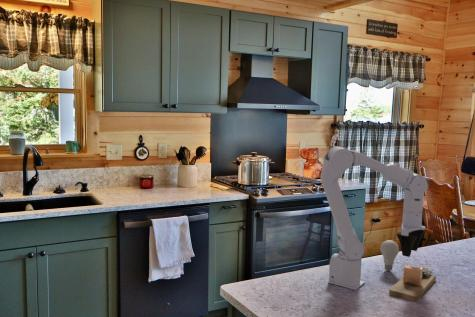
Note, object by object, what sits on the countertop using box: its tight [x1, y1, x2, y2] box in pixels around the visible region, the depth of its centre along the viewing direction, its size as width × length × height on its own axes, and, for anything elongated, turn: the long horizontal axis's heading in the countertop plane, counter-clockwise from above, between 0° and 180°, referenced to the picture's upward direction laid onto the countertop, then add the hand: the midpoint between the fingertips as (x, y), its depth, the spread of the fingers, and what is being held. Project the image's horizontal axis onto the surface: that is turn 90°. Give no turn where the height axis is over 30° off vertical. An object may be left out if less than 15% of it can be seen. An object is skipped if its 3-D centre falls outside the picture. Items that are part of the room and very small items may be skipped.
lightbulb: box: [379, 239, 400, 272], centre depth 155 cm, size 6×6×11 cm
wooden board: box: [388, 273, 437, 303], centre depth 142 cm, size 8×22×2 cm, turn 143°
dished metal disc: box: [415, 265, 429, 274], centre depth 149 cm, size 4×4×2 cm
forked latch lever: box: [402, 265, 433, 286], centre depth 145 cm, size 5×16×5 cm, turn 143°
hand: (409, 253), depth 143 cm, fingers open, 7 cm apart
